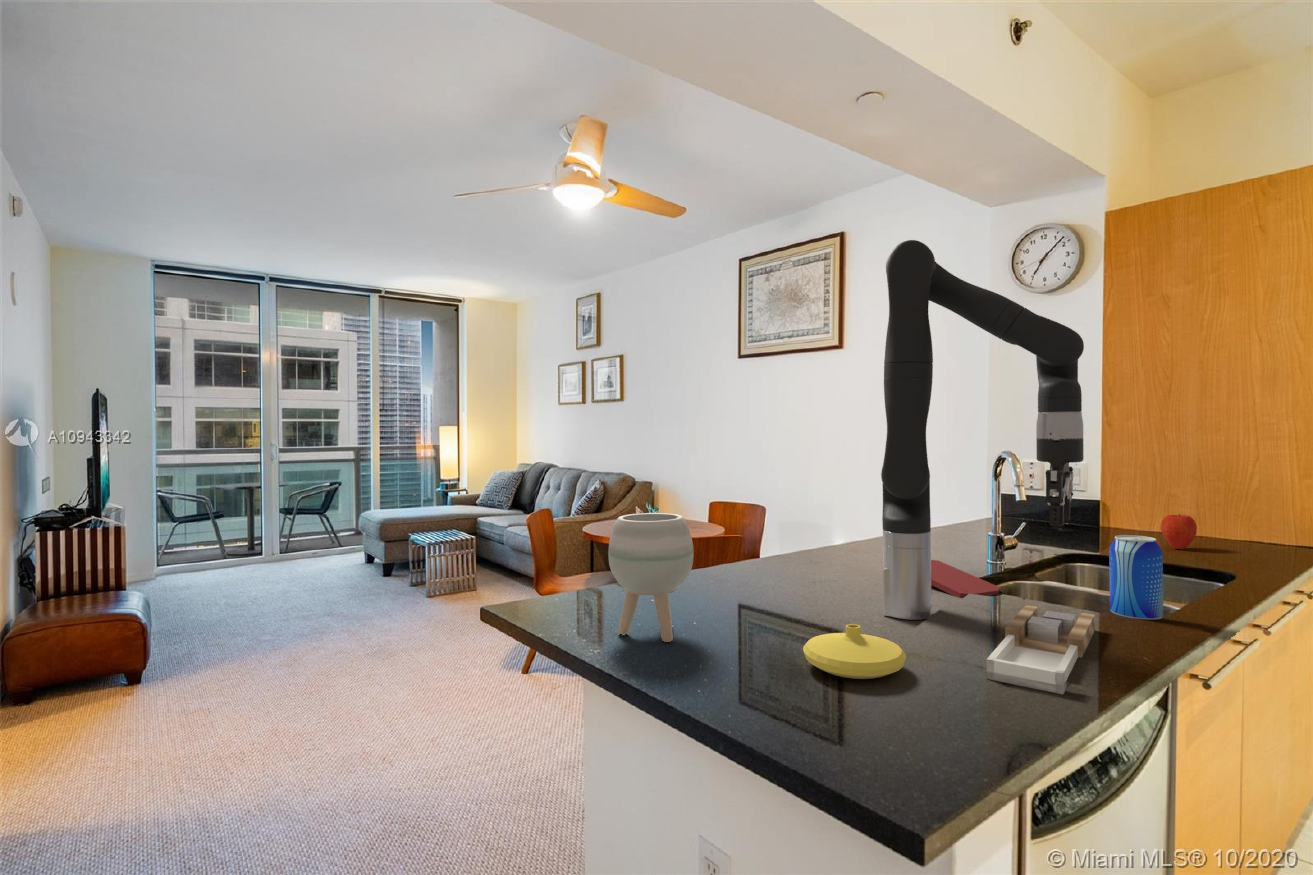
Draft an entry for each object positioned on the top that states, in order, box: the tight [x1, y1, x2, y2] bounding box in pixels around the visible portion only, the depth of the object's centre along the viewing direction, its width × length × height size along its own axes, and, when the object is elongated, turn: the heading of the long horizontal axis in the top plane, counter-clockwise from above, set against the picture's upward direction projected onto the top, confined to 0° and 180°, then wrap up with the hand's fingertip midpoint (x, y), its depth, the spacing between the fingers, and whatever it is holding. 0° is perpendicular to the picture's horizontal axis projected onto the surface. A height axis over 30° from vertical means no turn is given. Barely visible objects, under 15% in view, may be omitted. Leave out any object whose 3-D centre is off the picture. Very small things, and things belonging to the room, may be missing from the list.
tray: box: [986, 634, 1079, 695], centre depth 102 cm, size 15×10×3 cm, turn 141°
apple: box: [1160, 513, 1198, 550], centre depth 197 cm, size 9×8×11 cm
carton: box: [931, 559, 1001, 599], centre depth 159 cm, size 12×5×25 cm
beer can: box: [1108, 534, 1164, 620], centre depth 128 cm, size 8×8×16 cm
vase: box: [802, 623, 907, 680], centre depth 105 cm, size 16×16×7 cm
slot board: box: [1004, 605, 1096, 659], centre depth 115 cm, size 18×11×4 cm, turn 141°
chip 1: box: [1028, 616, 1062, 644], centre depth 114 cm, size 4×4×3 cm
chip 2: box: [1042, 610, 1077, 637], centre depth 117 cm, size 4×4×3 cm
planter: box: [607, 512, 694, 643], centre depth 124 cm, size 16×16×22 cm
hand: (1059, 523), depth 123 cm, fingers open, 7 cm apart
